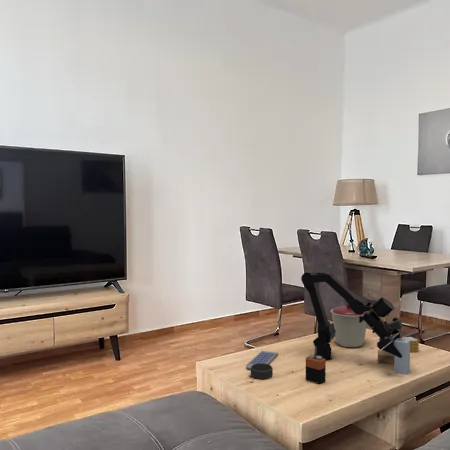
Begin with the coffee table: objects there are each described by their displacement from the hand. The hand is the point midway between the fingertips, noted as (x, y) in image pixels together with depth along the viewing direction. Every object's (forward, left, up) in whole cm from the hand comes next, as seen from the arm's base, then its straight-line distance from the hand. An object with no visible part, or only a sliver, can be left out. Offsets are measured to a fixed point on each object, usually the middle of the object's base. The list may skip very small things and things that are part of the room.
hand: (404, 354), depth 193 cm
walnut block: (-2, +13, -8) cm, 15 cm away
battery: (-39, -5, -8) cm, 40 cm away
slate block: (-1, 0, -7) cm, 7 cm away
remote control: (-56, +20, -8) cm, 59 cm away
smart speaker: (-59, +3, -8) cm, 59 cm away
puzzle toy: (+15, +25, -8) cm, 31 cm away
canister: (-9, +38, -8) cm, 40 cm away
